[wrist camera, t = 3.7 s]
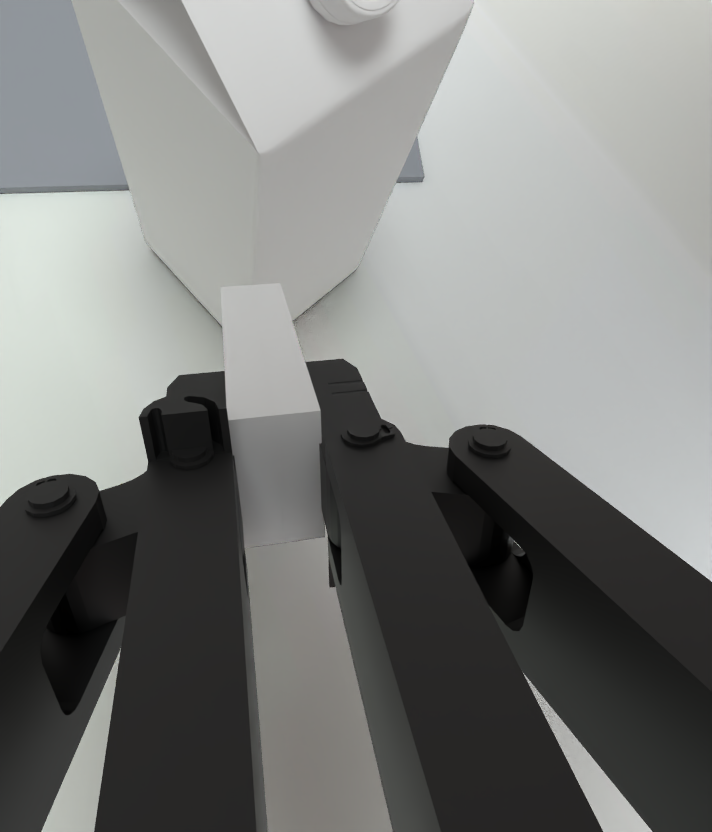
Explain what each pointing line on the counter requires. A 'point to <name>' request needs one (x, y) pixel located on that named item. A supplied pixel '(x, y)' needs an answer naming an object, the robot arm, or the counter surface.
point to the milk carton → (266, 127)
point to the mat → (63, 107)
